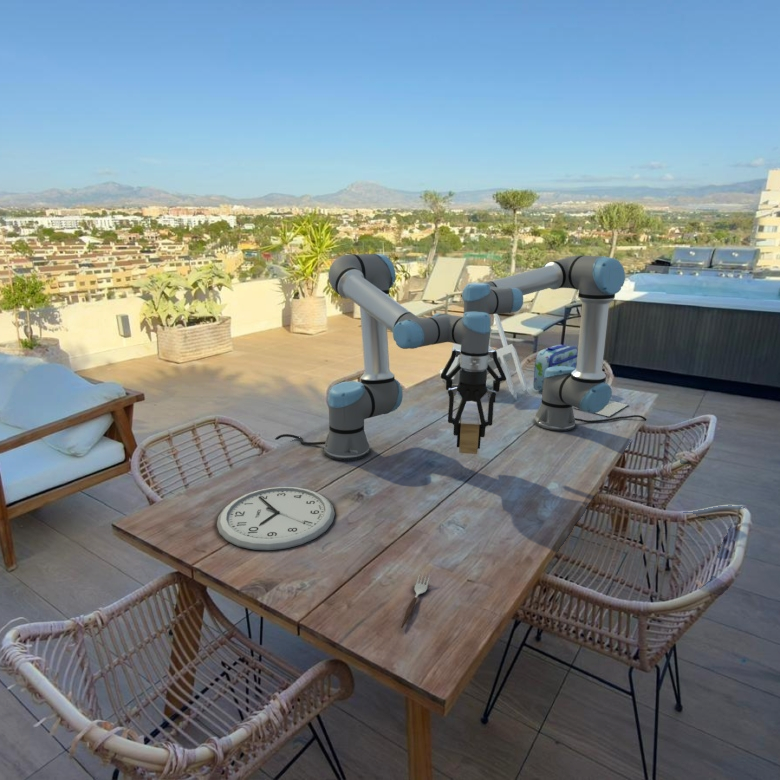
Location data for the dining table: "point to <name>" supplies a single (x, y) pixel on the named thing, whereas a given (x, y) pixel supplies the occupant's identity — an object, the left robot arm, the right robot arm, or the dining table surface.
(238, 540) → the wall clock
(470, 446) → the bar
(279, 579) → the dining table surface
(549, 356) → the lunch box
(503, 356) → the white plastic object
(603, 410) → the invitation card
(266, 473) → the dining table surface
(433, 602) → the dining table surface
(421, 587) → the fork
